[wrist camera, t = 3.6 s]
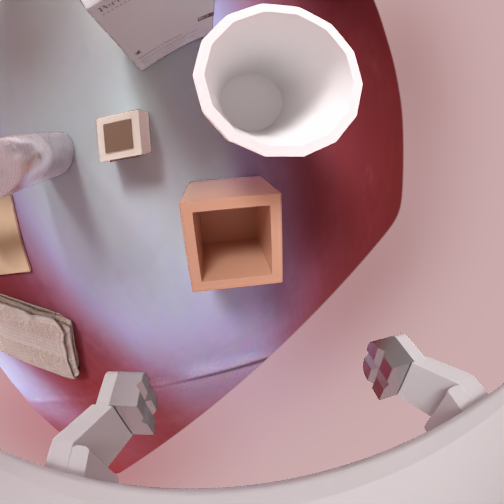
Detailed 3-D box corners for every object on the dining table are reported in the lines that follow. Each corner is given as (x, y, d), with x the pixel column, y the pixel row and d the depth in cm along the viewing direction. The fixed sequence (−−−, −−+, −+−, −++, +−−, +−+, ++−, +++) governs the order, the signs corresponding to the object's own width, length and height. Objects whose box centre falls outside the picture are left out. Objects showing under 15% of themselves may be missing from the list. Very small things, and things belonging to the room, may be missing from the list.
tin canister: (37, 137, 22) (-52, 153, 9) (72, 125, 22) (-16, 130, 10) (42, 180, 24) (-42, 218, 11) (77, 171, 24) (-7, 205, 12)
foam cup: (315, 112, 26) (388, 102, 14) (245, 167, 27) (272, 192, 15) (256, 42, 22) (290, -18, 10) (182, 97, 23) (157, 64, 12)
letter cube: (109, 120, 23) (93, 119, 19) (148, 113, 24) (137, 109, 20) (113, 160, 25) (98, 164, 21) (151, 153, 25) (141, 156, 21)
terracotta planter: (189, 182, 27) (179, 202, 19) (260, 175, 28) (281, 193, 19) (197, 247, 30) (192, 291, 21) (262, 241, 30) (282, 282, 22)
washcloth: (84, 371, 35) (79, 385, 33) (1, 343, 32) (-6, 353, 29) (74, 312, 31) (66, 326, 28) (-15, 284, 27) (-26, 295, 25)
